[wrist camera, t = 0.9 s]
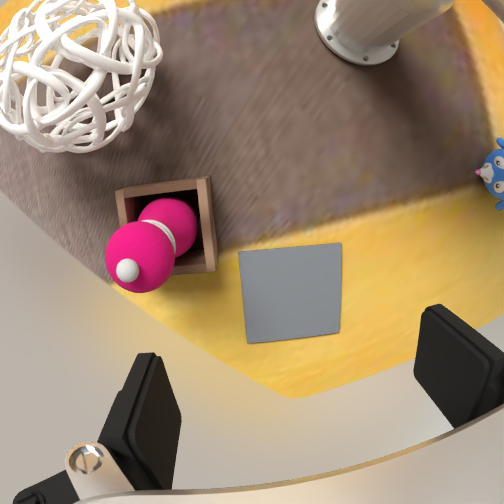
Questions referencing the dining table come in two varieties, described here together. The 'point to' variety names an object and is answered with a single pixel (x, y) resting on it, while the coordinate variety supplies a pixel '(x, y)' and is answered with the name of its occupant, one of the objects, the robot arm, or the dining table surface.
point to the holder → (209, 256)
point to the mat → (291, 291)
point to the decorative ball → (60, 114)
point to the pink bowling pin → (151, 244)
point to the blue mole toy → (494, 173)
